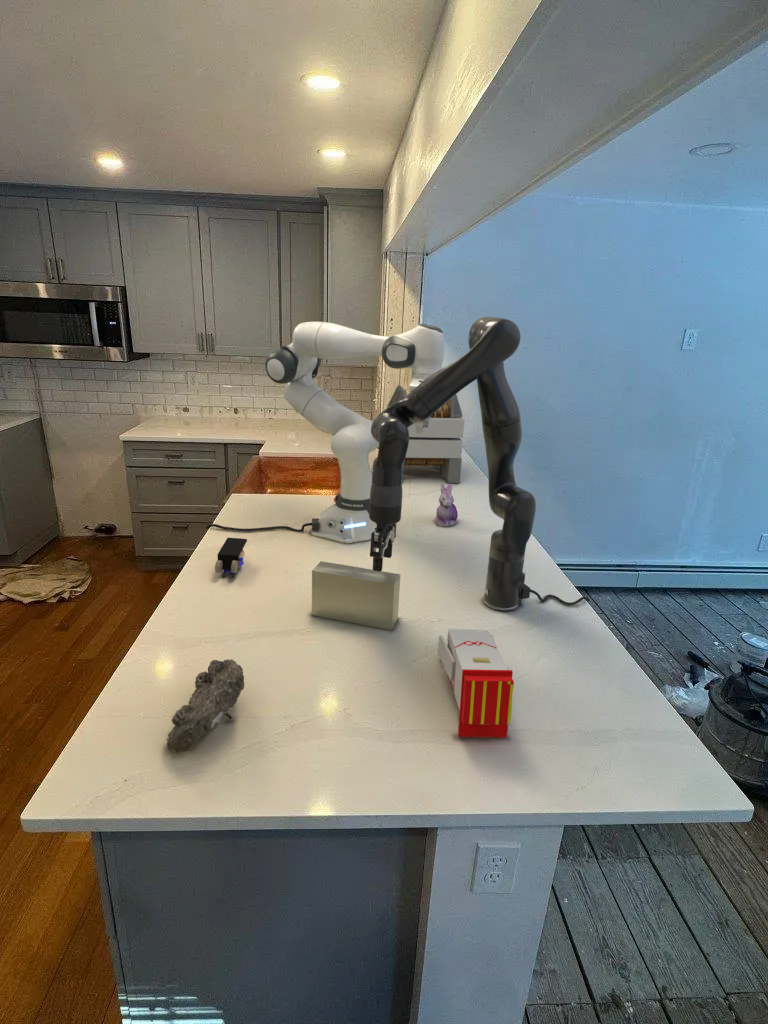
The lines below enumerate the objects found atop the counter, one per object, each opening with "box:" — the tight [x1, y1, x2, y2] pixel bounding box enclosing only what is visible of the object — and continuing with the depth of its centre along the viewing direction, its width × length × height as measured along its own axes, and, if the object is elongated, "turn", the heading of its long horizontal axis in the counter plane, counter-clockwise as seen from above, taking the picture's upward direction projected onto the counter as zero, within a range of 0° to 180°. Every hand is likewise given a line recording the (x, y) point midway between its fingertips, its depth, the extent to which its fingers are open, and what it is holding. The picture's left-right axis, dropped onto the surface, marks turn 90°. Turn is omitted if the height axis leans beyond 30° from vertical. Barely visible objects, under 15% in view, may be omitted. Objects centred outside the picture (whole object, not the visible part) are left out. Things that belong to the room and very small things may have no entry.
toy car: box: [214, 537, 248, 578], centre depth 166 cm, size 7×8×15 cm
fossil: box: [166, 658, 245, 754], centre depth 106 cm, size 22×10×15 cm
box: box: [311, 560, 401, 631], centre depth 143 cm, size 21×6×13 cm, turn 74°
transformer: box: [386, 384, 465, 484], centre depth 268 cm, size 34×33×41 cm
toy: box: [437, 628, 515, 738], centre depth 117 cm, size 12×13×30 cm
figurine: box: [434, 483, 459, 527], centre depth 210 cm, size 9×10×15 cm
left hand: (422, 430), depth 169 cm, fingers open, 8 cm apart
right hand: (382, 563), depth 138 cm, fingers open, 8 cm apart
